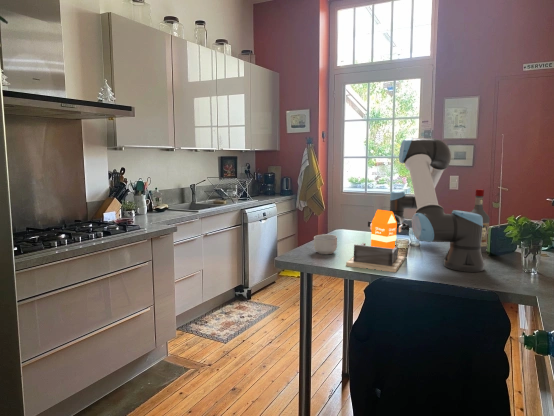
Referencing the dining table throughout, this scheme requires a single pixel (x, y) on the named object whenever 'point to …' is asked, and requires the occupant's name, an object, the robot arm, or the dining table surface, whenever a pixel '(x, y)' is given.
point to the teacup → (325, 243)
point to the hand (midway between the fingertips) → (384, 228)
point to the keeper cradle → (376, 258)
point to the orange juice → (384, 229)
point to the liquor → (479, 210)
